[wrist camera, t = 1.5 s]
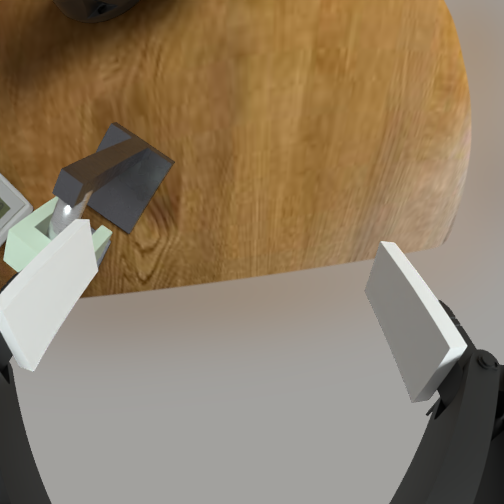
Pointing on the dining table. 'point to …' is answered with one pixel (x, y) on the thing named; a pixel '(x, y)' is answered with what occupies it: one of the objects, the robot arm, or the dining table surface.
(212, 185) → the dining table surface
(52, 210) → the bracket
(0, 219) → the digital clock
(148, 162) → the stand
